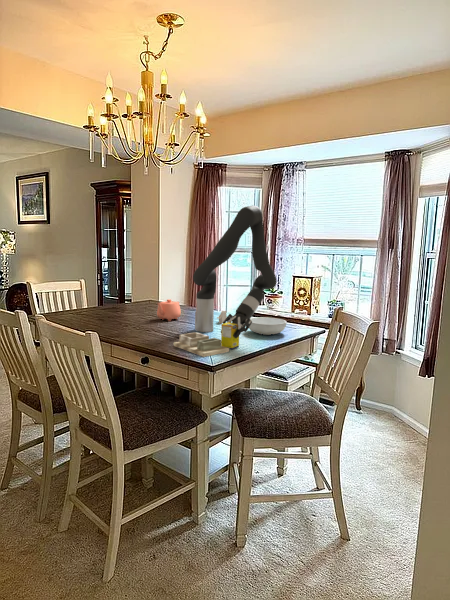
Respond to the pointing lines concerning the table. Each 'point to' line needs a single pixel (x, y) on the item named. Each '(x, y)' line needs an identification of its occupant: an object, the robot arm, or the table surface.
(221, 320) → the architectural model
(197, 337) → the beige compartment tray
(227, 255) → the robot arm
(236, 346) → the supplement box
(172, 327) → the table surface
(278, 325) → the serving bowl
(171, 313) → the teapot
